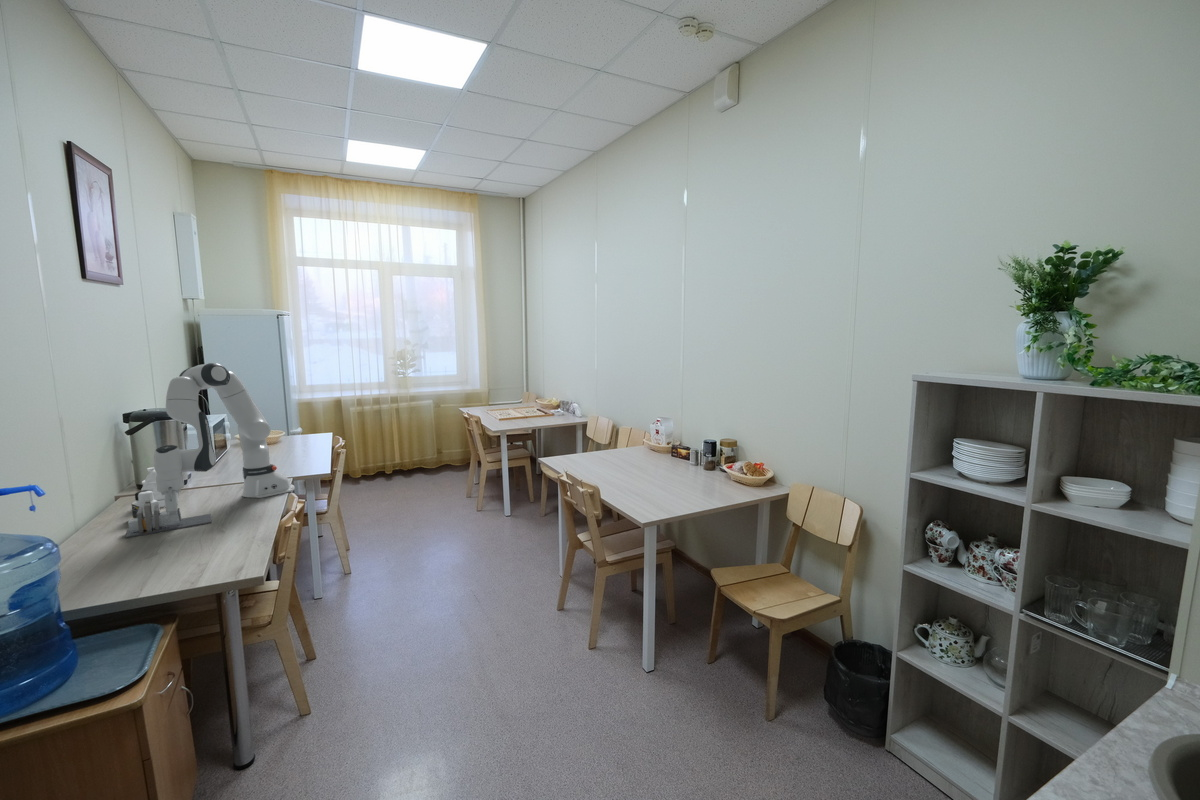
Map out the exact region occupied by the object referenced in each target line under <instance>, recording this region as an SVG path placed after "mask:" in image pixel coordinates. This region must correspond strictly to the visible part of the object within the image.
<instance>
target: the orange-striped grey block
mask: <svg viewBox="0 0 1200 800" xmlns="http://www.w3.org/2000/svg"><path fill="white" fill-rule="evenodd" d="M158 518H159V526H162V525H166V524H170V523H174V522H178V521H182V518H183V517H182V512H181V509H180V507H178V510H177V511H176V519H171V518H170V513H167V512H166V510H165V511H160V513H158ZM151 523H152V528H154V527H155V520H154V514H152V515H151ZM142 524H143V530H146V520H145V516H143V517H142ZM127 525H128V528H130V532H131V533H133V532H137V531H139V527H138V519H137V518H134V519H133V518H131V519H128V522H127Z"/></svg>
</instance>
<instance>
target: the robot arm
mask: <svg viewBox="0 0 1200 800" xmlns="http://www.w3.org/2000/svg"><path fill="white" fill-rule="evenodd" d="M210 388H213V390H215V392H216V393H217V395H218V397H219V398H220V400H221V402H222V403H223V405H224V407H225V409H227V411H228V413H229V414H230V416H231V417H232V418H233V420H234V421H235V423H236V425H237V432H238V437H239V443H240V446H241V447H240V448H241V453H242V462H243V464H242V465H243V467H242V478H243V490H242V494H241V496H242V497H243V498H257V499H263V498H266V497H271V496H276V495H277V496H278V495H281V494H285V493H291V492H293V491H295V490H296V488H295V485H294V484H292V483H290V480H289V477H287V476H286V474H285V475H284V474H282V473H281V472H278V471H277V470H278V467H277V466H276V465H275V464H273V463H271V462H270V461H271V460H270V448H269V446H268V445H269V444H268V442H267V438H268V437H269V435H270V433H271V425H270V424H269V423H268V420H266V418H265V417H264V415H263V413H262V412H261V411H260V409H259V408H258V406H257V405H256V403H255V401H253V399H252V396H251V395H250V393H249V392H248V390H247V388H246V387H245V385H244V383H243V382H242V381H241V379H240V378H239V377H238V375H236V373H234V372H233V371H231V370H227V368H226V367H225V366H223V365H222V364H220V363H216V362H209V363H205V364H204V363H203V364H198V365H195V366H193V367H190V368H189V367H188V368H186V369H184V370H183V371H182V372H180V374H179V375H178V376H176V377H173V378H172V379H171V380H170V382H169V383H168V388H167V391H166V397H165V412H166V414H167V415H168V416H169V417H170V418H171V419H173V420H175V421H177V422H180V423H183V424H187V425H189V426H192V427H193V428H194V429H195V432H196V436H197V437H196V438H197V444H198V448H189V449H181V448H179V447H178V445H174V444H167V445H162V446H159V447H157V448H156V449H154V455H153V456H154V457H153V467H154V470H155V471H156V487H157V491H158V492H161V494H162V495H165V507H164V508H165V511H166V512H167V513H170V518H171V519H176V511H177V510H178V508H179V498H180V492H181V491H182V490H181V489H184V488H185V481H184V478H185V477H184V474H183V473H185V472H188V473H189V472H200V473H201V472H209V470H211V469H212V468H214V466H216V460H217V459H216V458H217V457H216V453H215V451H214V446H213V440H212V435H211V428H210V424H209V420H208V417H207V415H206V413H204V412H203V411H202V410H201V409H200V405H199V393H200V391H201V390H209V389H210Z"/></svg>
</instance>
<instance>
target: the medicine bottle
mask: <svg viewBox="0 0 1200 800" xmlns="http://www.w3.org/2000/svg"><path fill="white" fill-rule="evenodd" d="M134 498H135V499H134V500H135V501H134V502H132V503H131V512H132V519H134V518H137V512H138V508H139V507H143V514H144V516H145V512H144V504H145V500H151V507H152V514H154V506H155V505H158V504H159V501H157V500H154V493H153V491H152V490H143V491H141V490H139V491H137V492H135V493H134ZM160 512H161V507H159V513H160Z"/></svg>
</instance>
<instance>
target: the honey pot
mask: <svg viewBox="0 0 1200 800" xmlns="http://www.w3.org/2000/svg"><path fill="white" fill-rule="evenodd" d="M146 470H147V472H149V473H148V474H147V475H146V478H145V479H144V480H142V481H141V484H142V488H141V489H140V491H143V490H152V491H153V493H154V500H157V501H159V507H160V508H166V507H165V495H162V494H161V492H158V491H157V487H156V471H155V468H154V466H153V467H152V466H151V467H148V468H147V467H146Z"/></svg>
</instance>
